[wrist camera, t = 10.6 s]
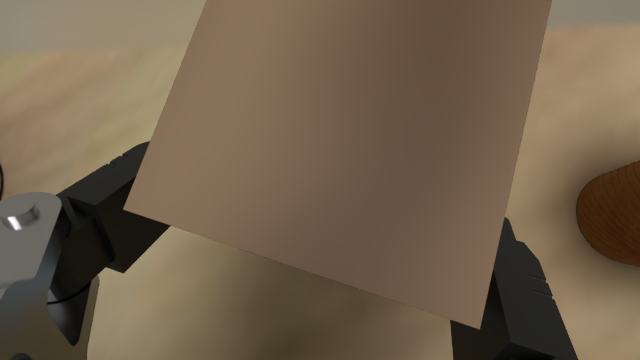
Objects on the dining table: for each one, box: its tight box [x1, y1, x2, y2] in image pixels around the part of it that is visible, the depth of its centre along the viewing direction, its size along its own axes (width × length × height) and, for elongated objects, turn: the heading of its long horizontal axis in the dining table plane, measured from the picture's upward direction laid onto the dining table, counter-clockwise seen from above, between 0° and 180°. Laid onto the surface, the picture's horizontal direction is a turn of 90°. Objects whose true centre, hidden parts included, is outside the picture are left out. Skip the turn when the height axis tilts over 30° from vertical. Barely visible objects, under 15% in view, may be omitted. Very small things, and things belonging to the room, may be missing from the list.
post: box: [123, 0, 552, 329], centre depth 11 cm, size 6×6×12 cm
